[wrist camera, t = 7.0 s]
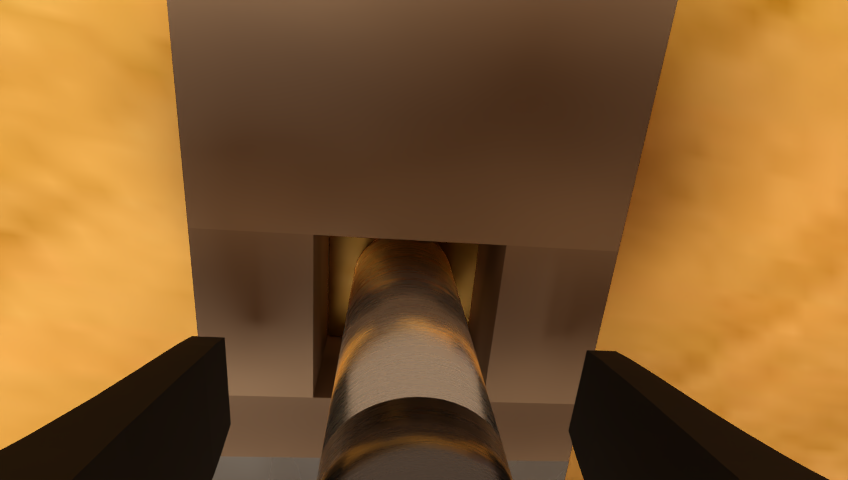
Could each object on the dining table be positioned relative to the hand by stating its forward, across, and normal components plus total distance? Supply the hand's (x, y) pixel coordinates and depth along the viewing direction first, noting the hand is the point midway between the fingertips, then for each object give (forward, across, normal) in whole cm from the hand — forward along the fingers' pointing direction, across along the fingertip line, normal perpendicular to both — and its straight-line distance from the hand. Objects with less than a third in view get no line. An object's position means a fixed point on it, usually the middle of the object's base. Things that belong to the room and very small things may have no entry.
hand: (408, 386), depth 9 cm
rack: (+5, 0, -2) cm, 6 cm away
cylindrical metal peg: (+5, 0, 0) cm, 5 cm away
